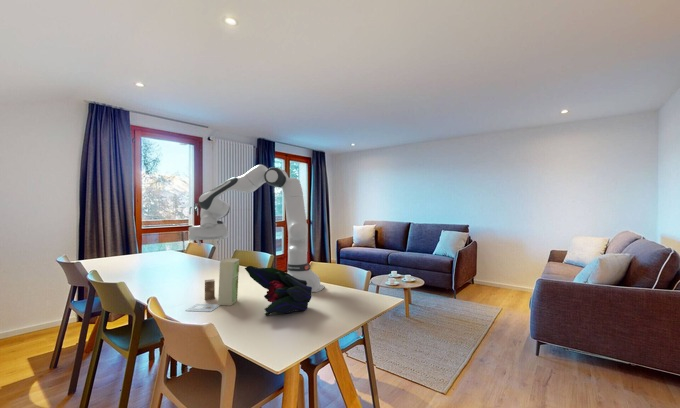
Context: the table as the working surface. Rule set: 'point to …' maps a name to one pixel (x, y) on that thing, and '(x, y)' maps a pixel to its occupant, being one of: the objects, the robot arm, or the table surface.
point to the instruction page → (203, 307)
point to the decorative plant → (281, 290)
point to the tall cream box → (228, 281)
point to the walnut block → (209, 289)
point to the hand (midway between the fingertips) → (209, 244)
